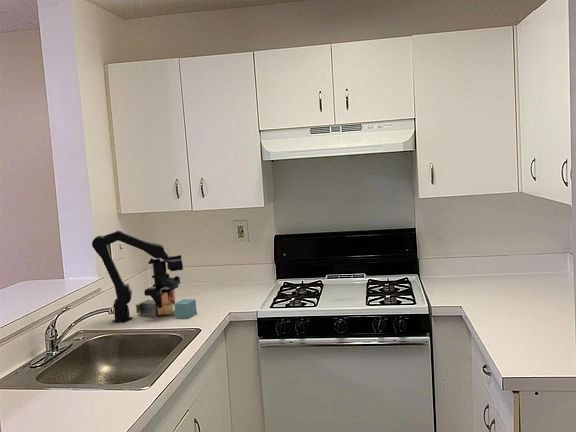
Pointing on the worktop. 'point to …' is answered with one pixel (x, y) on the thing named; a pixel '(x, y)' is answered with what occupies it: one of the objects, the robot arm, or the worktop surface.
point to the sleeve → (148, 308)
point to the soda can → (172, 297)
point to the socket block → (185, 308)
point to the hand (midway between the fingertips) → (163, 306)
